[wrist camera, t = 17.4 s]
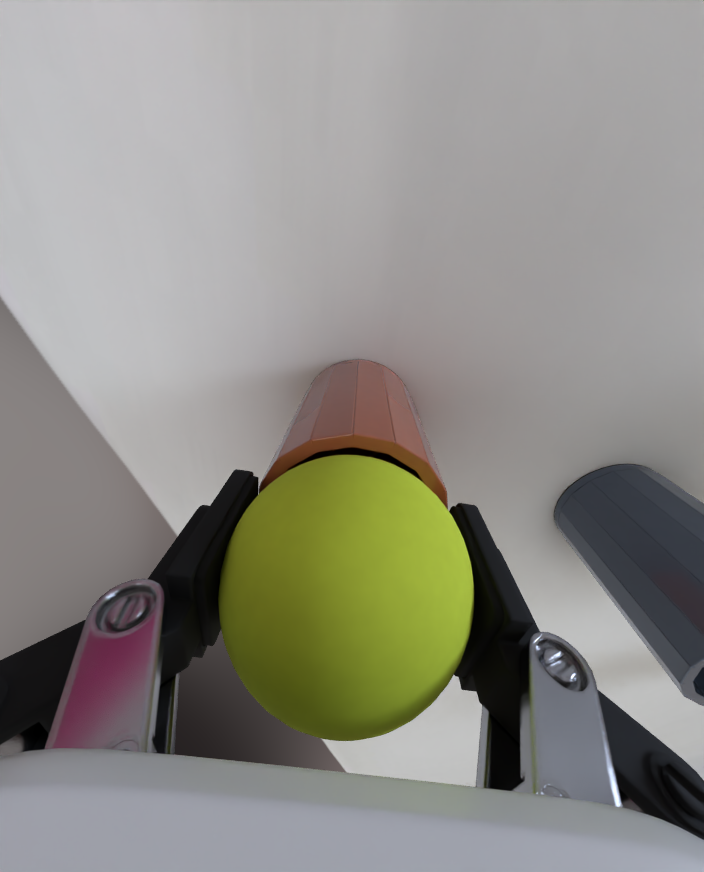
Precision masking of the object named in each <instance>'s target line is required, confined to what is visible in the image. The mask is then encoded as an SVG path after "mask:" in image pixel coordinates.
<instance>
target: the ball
mask: <svg viewBox="0 0 704 872" xmlns="http://www.w3.org/2000/svg"><path fill="white" fill-rule="evenodd" d="M218 604H219V617H220V625H221V630H222V634H223V639H224V643H225V646H226V649H227V652H228V654H229V657H230V659H231V661H232V664H233V666H234V669H235V670H236V672H237V674H238V675H239V677H240V678H241V680H242V681H243V683H244V685H245V687H246V688H247V690H248V691H249V692H250V693H251V695H252V696H253V697H254V698H255V699H256V700H257V701H258V702H259V703H260V704H261V705H262V706H263V708H264V709H265V710H267V711H268V712H269V713H270V714H272V715H274V716H275V717H276V718H277V719H279V720H280V721H282V722H283V723H285V724H287V725H288V726H289V727H291V728H293V729H296V730H298V731H300V732H303V733H306V734H309V735H312V736H315V737H319V738H322V739H328V740H336V741H354V740H361V739H367V738H372V737H376V736H380V735H383V734H386V733H389V732H391V731H393V730H395V729H397V728H399V727H401V726H403V725H405V724H406V723H408V722H410V721H412V720H413V719H414V718H415V717H417V716H418V715H419V714H420V713H422V712H423V711H424V710H425V709H426V708H427V707H429V706H430V705H431V704H432V703H433V702H434V701H435V700H436V698H437V697H438V696H439V695H440V693H441V692H442V691H443V690H444V689H445V687H446V686H447V685H448V683H449V682H450V680H451V678H452V676H453V675H454V673H455V671H456V669H457V667H458V666H459V664H460V662H461V659H462V656H463V654H464V651H465V648H466V645H467V642H468V639H469V636H470V631H471V626H472V620H473V612H474V583H473V575H472V567H471V562H470V558H469V555H468V551H467V548H466V545H465V542H464V539H463V537H462V535H461V532H460V530H459V528H458V526H457V524H456V522H455V521H454V519H453V517H452V515H451V514H450V512H449V511H448V510H447V508H446V507H445V505H444V504H443V503H442V502H441V500H440V499H439V498H438V496H437V495H435V494H434V493H433V492H432V491H431V490H430V489H429V488H428V487H427V486H426V485H425V484H424V483H423V482H422V481H420V480H419V479H418V478H416V477H415V476H413V475H412V474H410V473H409V472H407V471H405V470H403V469H401V468H399V467H398V466H396V465H394V464H391V463H388V462H386V461H383V460H380V459H376V458H372V457H367V456H359V455H336V456H328V457H323V458H318V459H315V460H312V461H309V462H306V463H304V464H301V465H299V466H297V467H295V468H293V469H291V470H289V471H287V472H286V473H284V474H283V475H281V476H280V477H278V478H277V479H275V480H274V481H273V482H272V483H270V484H269V485H268V486H267V487H266V488H265V489H264V490H262V491H261V492H260V494H259V495H258V496H257V497H256V498H255V499H254V500H253V502H252V503H251V504H250V505H249V507H248V508H247V509H246V510H245V512H244V514H243V515H242V517H241V519H240V520H239V522H238V524H237V526H236V527H235V529H234V532H233V534H232V536H231V539H230V541H229V543H228V546H227V550H226V553H225V557H224V561H223V565H222V568H221V573H220V583H219V595H218Z"/></svg>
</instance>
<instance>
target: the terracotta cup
mask: <svg viewBox="0 0 704 872" xmlns="http://www.w3.org/2000/svg"><path fill="white" fill-rule="evenodd" d="M336 455H359V456H367V457H372V458H376V459H380V460H383V461H386V462H388V463H391V464H394V465H396V466H398V467H399V468H401V469H403V470H405V471H407V472H409V473H410V474H412V475H413V476H415V477H416V478H418V479H419V480H420V481H422V482H423V483H424V484H425V485H426V486H427V487H428V488H429V489H430V490H431V491H432V492H433V493H434V494H435V495H437V496H438V498H439V499H440V500H441V502H442V503H443V504H444V505H445V507H446V508H447V510H448V503H447V491H446V488H445V485H444V482H443V480H442V477H441V474H440V472H439V469H438V466H437V464H436V461H435V458H434V456H433V453H432V450H431V448H430V445H429V443H428V440H427V437H426V435H425V432H424V429H423V427H422V424H421V421H420V419H419V416H418V413H417V411H416V408H415V405H414V403H413V400H412V397H411V396H410V394H409V392H408V390H407V388H406V386H405V384H404V383H403V382H402V380H401V379H400V378H399V377H398V376H397V375H396V374H395V373H394V372H393V371H391V370H390V369H388V368H387V367H385V366H383V365H381V364H379V363H376V362H372V361H368V360H347V361H343V362H339V363H337V364H334V365H332V366H330V367H328V368H327V369H325V370H324V371H323V372H321V373H320V374H319V375H318V376H317V377H316V378H315V379H314V381H313V382H312V383H311V385H310V387H309V389H308V390H307V392H306V393H305V395H304V397H303V399H302V401H301V403H300V405H299V407H298V409H297V411H296V413H295V415H294V417H293V419H292V421H291V423H290V425H289V427H288V429H287V431H286V433H285V435H284V437H283V439H282V441H281V443H280V445H279V447H278V449H277V451H276V453H275V455H274V457H273V459H272V461H271V463H270V465H269V467H268V469H267V471H266V473H265V475H264V477H263V479H262V481H261V483H260V486H259V494H260V492H261V491H262V490H264V489H265V488H266V487H267V486H268V485H269V484H270V483H272V482H273V481H274V480H275V479H277V478H278V477H280V476H281V475H283V474H284V473H286V472H287V471H289V470H291V469H293V468H295V467H297V466H299V465H301V464H304V463H306V462H309V461H312V460H315V459H318V458H323V457H328V456H336Z"/></svg>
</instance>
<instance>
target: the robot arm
mask: <svg viewBox="0 0 704 872" xmlns="http://www.w3.org/2000/svg"><path fill="white" fill-rule="evenodd" d="M257 496H258V477H255V476H253V472H250V471H244V470H237V469H236V470H234V471H233V473H232V474H231V476H230V477H229V479H228V480H227V482H226V483H225V485H224V486H223V488H222V489H221V491H220V492H219V494H218V495H217V497H216V498H215V500H214V501H213V503H212V504H211V506H207V505H202V506H200V507H199V508H198V509H197V510H196V512H195V513H194V515H193V516H192V517H191V519H190V520H189V522H188V523H187V524H186V526H185V527H184V529H183V530H182V531H181V533H180V534H179V536H178V537H177V538H176V540H175V541H174V543H173V544H172V546H171V547H170V548H169V550H168V551H167V553H166V554H165V555H164V557H163V558H162V560H161V561H160V562H159V564H158V565H157V567H156V568H155V569H154V571H153V572H152V574H151V575H150V577H149V578H148V579H135V580H131V581H127V582H125V583H121V584H119V585H117V586H116V587H114V588H112V589H110V590H109V591H108V592H106V593H105V594H104V595H102V596H101V597H100V598H99V599H98V600H97V601H96V603H95V604H94V605H93V606H92V608H91V610H90V612H89V614H88V616H87V618H86V620H84V621H82V622H80V623H78V624H75V625H73V626H71V627H69V628H67V629H65V630H63V631H61V632H59V633H57V634H55V635H53V636H50V637H48V638H46V639H44V640H42V641H40V642H38V643H36V644H34V645H32V646H30V647H28V648H25V649H23V650H21V651H19V652H17V653H15V654H13V655H11V656H9V657H7V658H4V659H3V660H0V872H704V780H703V779H702V778H701V777H700V776H699V774H698V773H697V772H696V771H695V770H694V769H693V768H692V767H691V766H689V765H688V764H687V763H686V762H685V761H684V760H683V759H682V758H681V757H679V756H678V755H677V754H676V753H674V752H673V751H672V750H671V749H670V748H668V747H667V746H666V745H665V744H663V743H662V742H661V741H660V740H659V739H657V738H656V737H655V736H654V735H652V734H651V733H650V732H649V731H648V730H646V729H645V728H644V727H643V726H641V725H640V724H639V723H638V722H637V721H635V720H634V719H633V718H632V717H630V716H629V715H628V714H627V713H626V712H624V711H623V710H622V709H621V708H619V707H618V706H617V705H616V704H615V703H613V702H612V701H611V700H610V699H608V698H607V697H606V696H605V695H604V694H602V693H601V692H600V691H599V690H597V686H596V681H595V678H594V675H593V673H592V670H591V668H590V667H589V665H588V663H587V662H586V660H585V659H584V658H583V657H582V655H581V654H580V653H579V652H578V651H577V650H576V649H575V648H574V647H573V646H572V645H570V644H569V643H568V642H567V641H565V640H564V639H562V638H560V637H559V636H557V635H554V634H551V633H549V632H540V631H539V629H538V627H537V625H536V623H535V621H534V619H533V617H532V615H531V613H530V611H529V609H528V607H527V605H526V603H525V601H524V599H523V597H522V594H521V592H520V590H519V588H518V586H517V584H516V582H515V580H514V578H513V576H512V574H511V572H510V570H509V568H508V566H507V564H506V562H505V560H504V558H503V556H502V554H501V552H500V551H499V549H497V547H496V545H495V543H494V541H493V539H492V537H491V535H490V533H489V530H488V528H487V526H486V524H485V522H484V520H483V518H482V516H481V514H480V512H479V510H478V508H477V507H476V506H475V505H469V504H463V503H458V504H457V505H456V507H455V506H452V507H451V509H450V511H449V512H450V514H451V515H452V517H453V519H454V521H455V522H456V524H457V526H458V528H459V530H460V532H461V535H462V537H463V539H464V542H465V545H466V548H467V551H468V555H469V558H470V562H471V567H472V575H473V583H474V612H473V620H472V626H471V631H470V636H469V639H468V642H467V645H466V648H465V651H464V654H463V656H462V659H461V662H460V664H459V666H458V667H457V669H456V671H455V673H454V675H455V676H458V677H459V680H460V684H461V689H462V690H469V691H477V694H478V698H479V702H480V703H481V704H482V716H481V728H480V740H479V752H478V764H477V776H476V787H470V786H462V785H453V784H444V783H435V782H426V781H417V780H408V779H399V778H390V777H381V776H372V775H362V774H353V773H343V772H334V771H325V770H316V769H307V768H298V767H288V766H278V765H268V764H259V763H249V762H239V761H230V760H220V759H211V758H200V757H191V756H181V755H174V749H175V732H176V717H177V700H178V685H179V672H181V671H182V670H184V669H185V668H187V667H188V666H189V663H190V661H191V659H192V657H200V658H202V657H203V655H204V652H205V650H206V648H207V645H210V646H213V645H214V644H215V642H216V640H217V637H218V635H219V632H220V630H221V625H220V617H219V604H218V595H219V583H220V573H221V568H222V565H223V561H224V557H225V553H226V550H227V546H228V543H229V541H230V539H231V536H232V534H233V532H234V529H235V527H236V526H237V524H238V522H239V520H240V519H241V517H242V515H243V514H244V512H245V510H246V509H247V508H248V507H249V505H250V504H251V503H252V502H253V500H254V499H255V498H256V497H257Z"/></svg>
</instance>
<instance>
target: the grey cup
mask: <svg viewBox="0 0 704 872" xmlns="http://www.w3.org/2000/svg"><path fill="white" fill-rule="evenodd" d="M554 518H555V523H556V526H557V527H558V529H559V530H560V532H561V533H562V535H563V537H564V538H565V539H566V541H567V542H568V543H569V545H570V546H571V547H572V549H573V550H574V551H575V553H576V554H577V555H578V557H579V558H580V559H581V561H582V562H583V563H584V565H585V566H586V567H587V569H588V570H589V571H590V573H591V574H592V575H593V577H594V578H595V579H596V581H597V582H598V583H599V584H600V586H601V587H602V588H603V590H604V591H605V592H606V594H607V595H608V596H609V598H610V599H611V600H612V602H613V603H614V604H615V606H616V607H617V608H618V610H619V611H620V612H621V614H622V615H623V616H624V618H625V619H626V620H627V622H628V623H629V624H630V626H631V627H632V628H633V629H634V631H635V632H636V633H637V635H638V636H639V637H640V639H641V640H642V641H643V643H644V644H645V645H646V647H647V648H648V649H649V651H650V652H651V653H652V655H653V656H654V657H655V659H656V660H657V661H658V663H659V664H660V665H661V667H662V668H663V669H664V671H665V672H666V673H667V674H668V676H669V677H670V678H671V680H672V681H673V682H674V684H675V685H676V686H677V688H678V689H679V690H680V692H681V693H682V694H683V695H684V696H685V697H686V698H688V699H690V700H692V701H694V702H696V703H698V704H700V705H702V706H704V504H703V503H702V502H700V501H699V500H698V499H696V498H695V497H693V496H692V495H690V494H689V493H687V492H686V491H684V490H683V489H681V488H680V487H678V486H677V485H675V484H674V483H672V482H671V481H669V480H668V479H667V478H665V477H664V476H662V475H661V474H659V473H657V472H655V471H653V470H652V469H650V468H647V467H644V466H640V465H633V464H623V465H615V466H609V467H606V468H602V469H599V470H597V471H594V472H592V473H590V474H588V475H586V476H584V477H582V478H581V479H579V480H578V481H576V482H575V483H574V484H573V485H571V486H570V487H569V488H568V489H567V490H566V491H565V492H564V494H563V495H562V496H561V498H560V499H559V501H558V503H557V505H556V508H555V513H554Z"/></svg>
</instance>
